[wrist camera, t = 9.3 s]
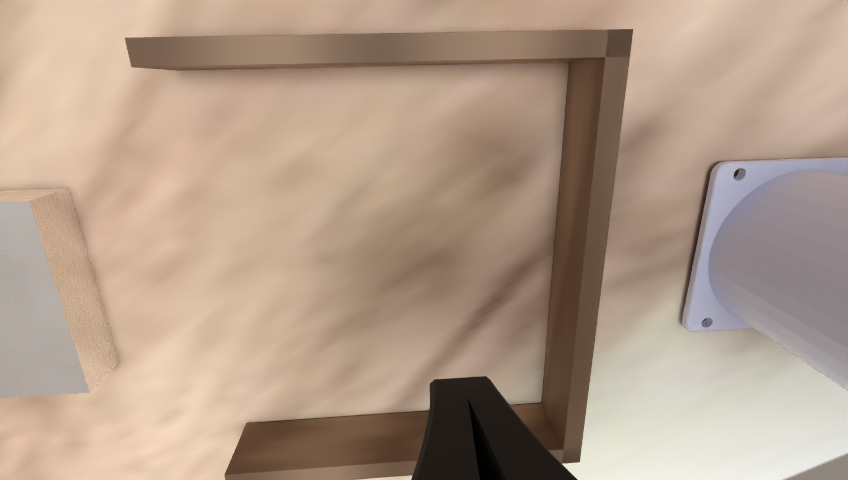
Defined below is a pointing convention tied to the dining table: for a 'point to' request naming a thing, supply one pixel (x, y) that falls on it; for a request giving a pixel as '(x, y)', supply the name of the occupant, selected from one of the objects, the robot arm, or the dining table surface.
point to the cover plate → (48, 299)
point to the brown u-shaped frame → (573, 251)
